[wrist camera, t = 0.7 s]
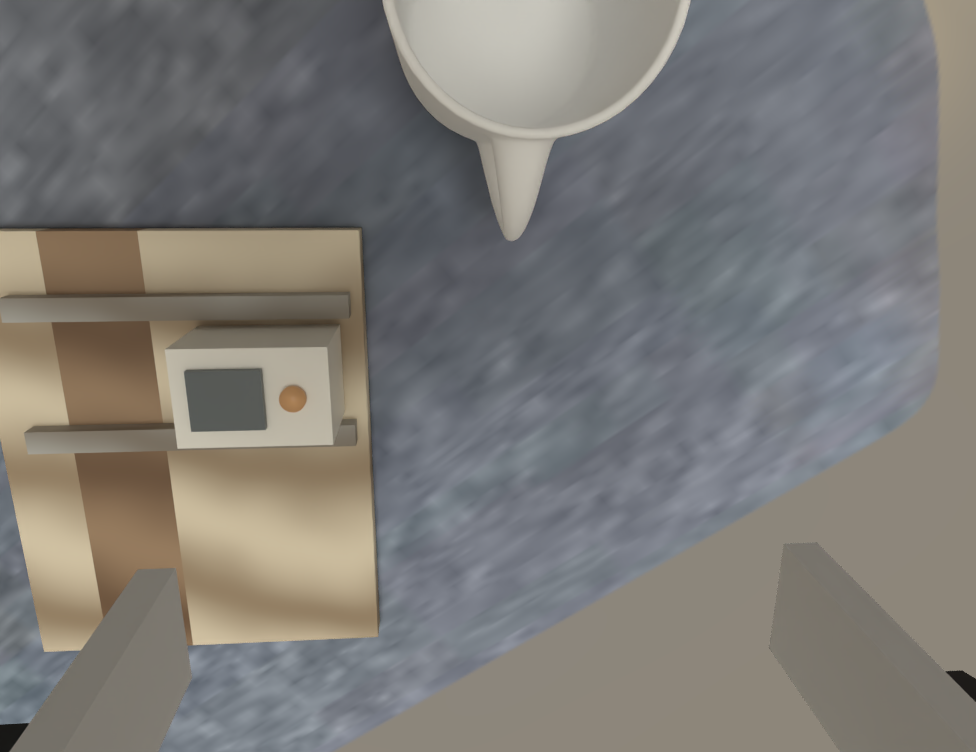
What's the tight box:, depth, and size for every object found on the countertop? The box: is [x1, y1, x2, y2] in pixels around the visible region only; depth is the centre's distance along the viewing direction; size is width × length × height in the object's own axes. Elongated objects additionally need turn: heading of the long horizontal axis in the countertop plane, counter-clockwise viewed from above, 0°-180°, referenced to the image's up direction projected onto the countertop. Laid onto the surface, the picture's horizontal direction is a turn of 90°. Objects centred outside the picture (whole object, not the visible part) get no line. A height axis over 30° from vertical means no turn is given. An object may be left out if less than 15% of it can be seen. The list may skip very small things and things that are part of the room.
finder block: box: [165, 324, 345, 449], centre depth 29 cm, size 4×6×4 cm, turn 89°
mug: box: [382, 0, 691, 241], centre depth 25 cm, size 9×12×11 cm
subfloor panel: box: [0, 228, 380, 652], centre depth 32 cm, size 20×16×2 cm
